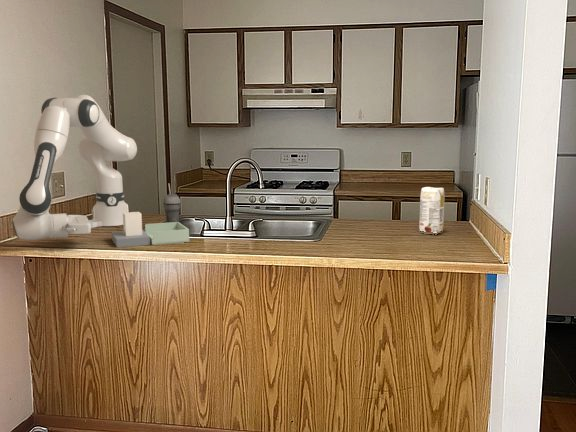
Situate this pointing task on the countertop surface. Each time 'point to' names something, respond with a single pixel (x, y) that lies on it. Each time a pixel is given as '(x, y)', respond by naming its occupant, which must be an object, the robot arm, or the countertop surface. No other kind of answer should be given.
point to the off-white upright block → (132, 223)
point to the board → (130, 239)
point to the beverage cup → (172, 207)
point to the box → (167, 233)
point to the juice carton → (431, 209)
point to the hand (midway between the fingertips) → (101, 223)
